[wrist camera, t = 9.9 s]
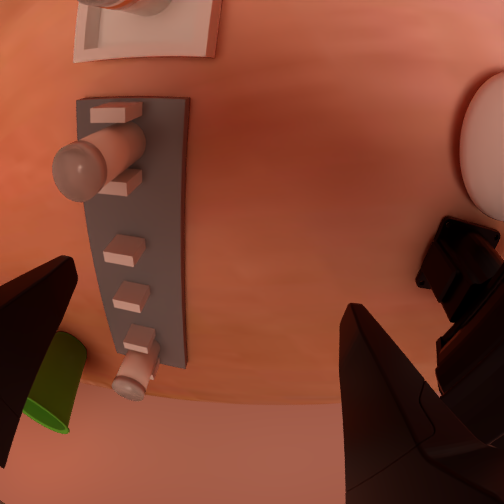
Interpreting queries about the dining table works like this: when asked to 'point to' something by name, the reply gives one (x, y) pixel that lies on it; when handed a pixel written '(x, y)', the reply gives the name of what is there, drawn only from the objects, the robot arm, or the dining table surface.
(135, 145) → the cylinder
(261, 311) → the dining table surface
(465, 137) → the flower in vase
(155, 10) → the cylinder
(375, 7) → the dining table surface
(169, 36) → the tray
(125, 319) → the fuse block
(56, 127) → the dining table surface
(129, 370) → the cylinder
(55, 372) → the cup
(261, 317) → the dining table surface
